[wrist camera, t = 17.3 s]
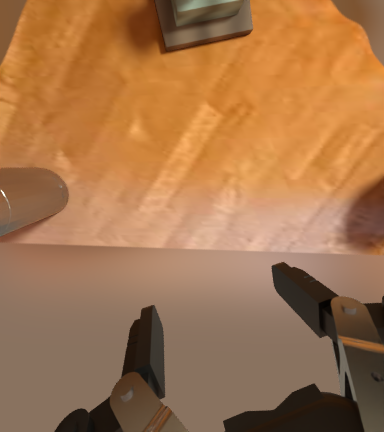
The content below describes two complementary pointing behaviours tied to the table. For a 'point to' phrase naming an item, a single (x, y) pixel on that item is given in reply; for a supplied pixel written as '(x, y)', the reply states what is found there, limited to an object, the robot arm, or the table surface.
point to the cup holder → (202, 21)
